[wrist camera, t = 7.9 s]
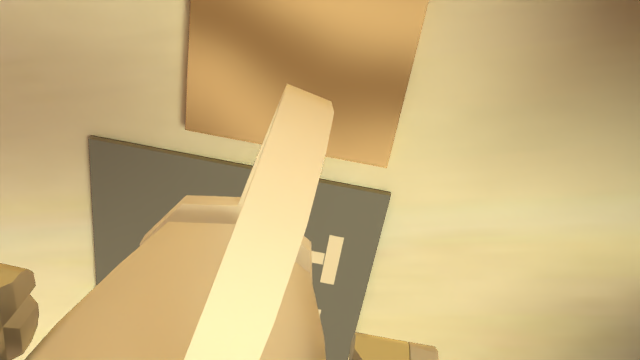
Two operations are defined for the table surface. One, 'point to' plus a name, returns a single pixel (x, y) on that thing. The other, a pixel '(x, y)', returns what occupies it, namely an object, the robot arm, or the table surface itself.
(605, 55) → the table surface
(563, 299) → the table surface
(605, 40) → the table surface
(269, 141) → the cup
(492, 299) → the table surface
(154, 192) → the tile
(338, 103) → the cork pad
